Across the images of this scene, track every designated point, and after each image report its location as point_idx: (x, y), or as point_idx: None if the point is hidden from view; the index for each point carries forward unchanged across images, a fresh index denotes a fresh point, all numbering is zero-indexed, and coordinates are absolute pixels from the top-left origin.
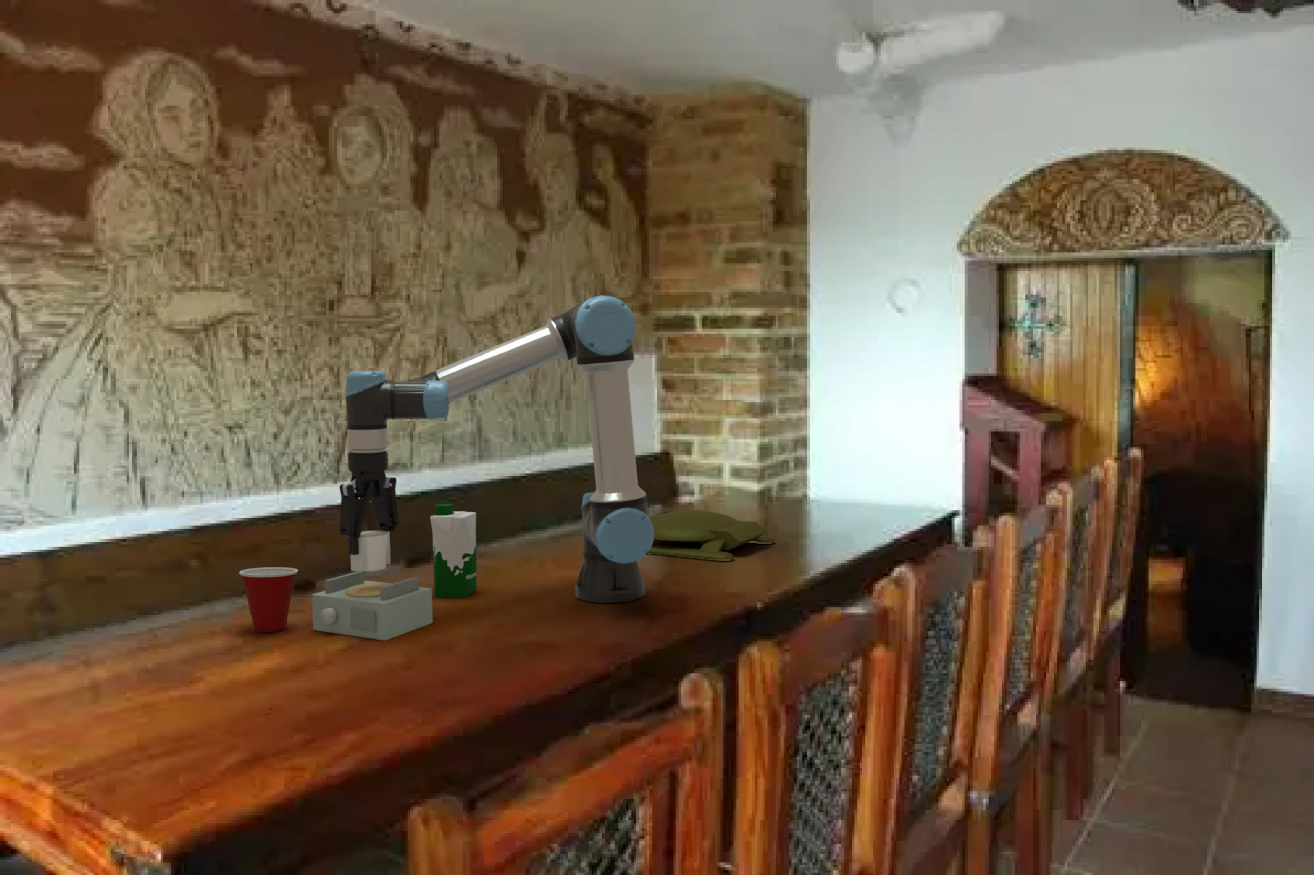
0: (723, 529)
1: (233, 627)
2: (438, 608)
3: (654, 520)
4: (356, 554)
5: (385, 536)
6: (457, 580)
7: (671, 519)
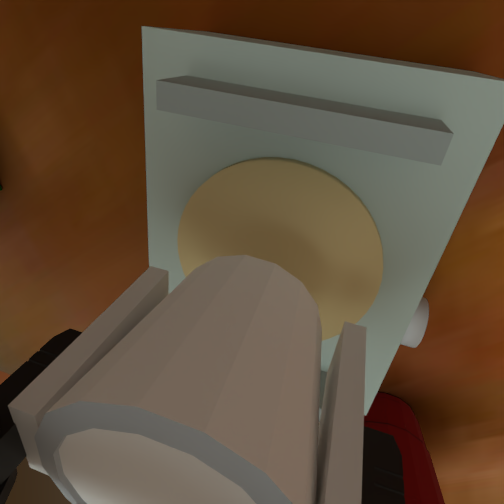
0: None
1: None
2: (70, 117)
3: None
4: (380, 433)
5: (147, 389)
6: None
7: None
